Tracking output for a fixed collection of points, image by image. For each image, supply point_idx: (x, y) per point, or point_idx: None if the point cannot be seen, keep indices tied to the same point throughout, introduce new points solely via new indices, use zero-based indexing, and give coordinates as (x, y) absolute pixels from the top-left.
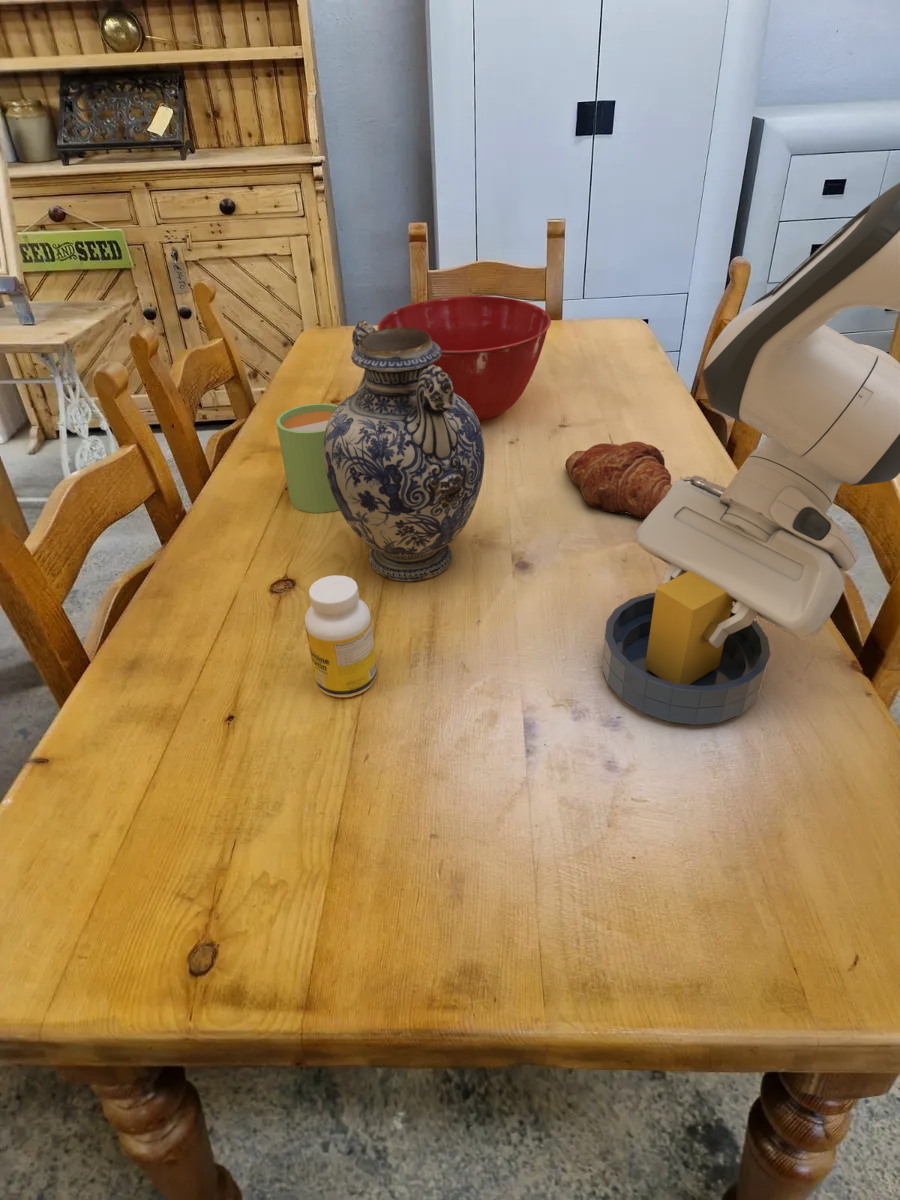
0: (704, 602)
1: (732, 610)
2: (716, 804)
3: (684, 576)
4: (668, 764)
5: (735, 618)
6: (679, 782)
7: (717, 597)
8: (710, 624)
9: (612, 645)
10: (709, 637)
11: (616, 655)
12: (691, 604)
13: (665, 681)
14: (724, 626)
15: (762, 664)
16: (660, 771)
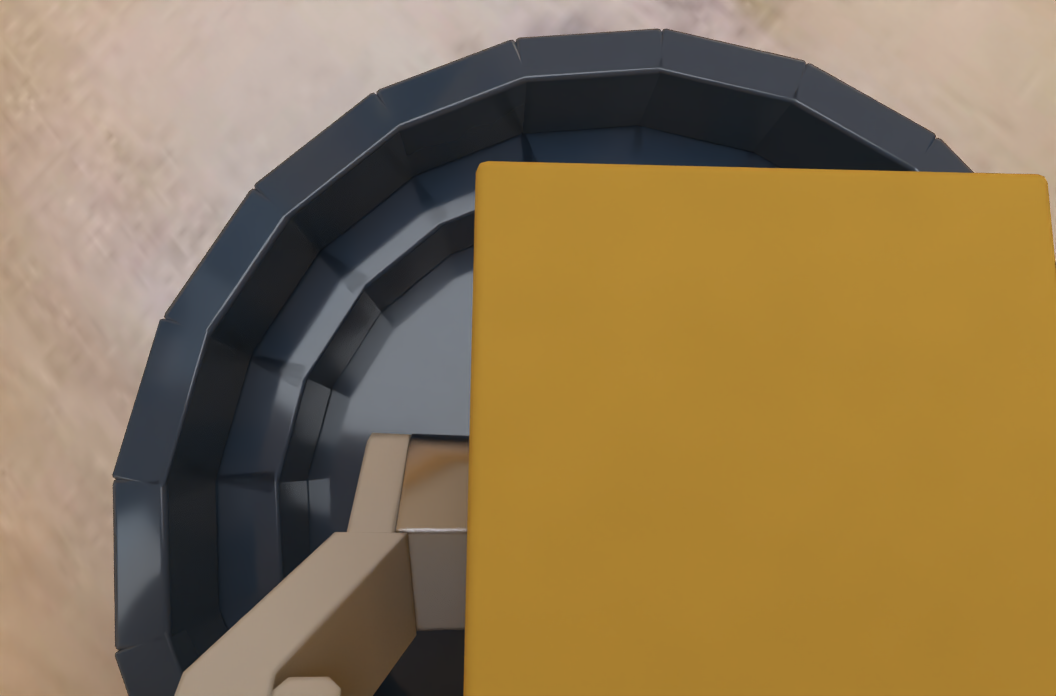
0: (491, 372)
1: (324, 691)
2: (26, 40)
3: (1042, 636)
4: (271, 55)
5: (257, 639)
6: (186, 20)
7: (467, 604)
8: (466, 514)
9: (848, 104)
10: (412, 440)
11: (768, 60)
12: (567, 228)
13: (438, 97)
14: (335, 544)
15: (145, 680)
16: (269, 8)
